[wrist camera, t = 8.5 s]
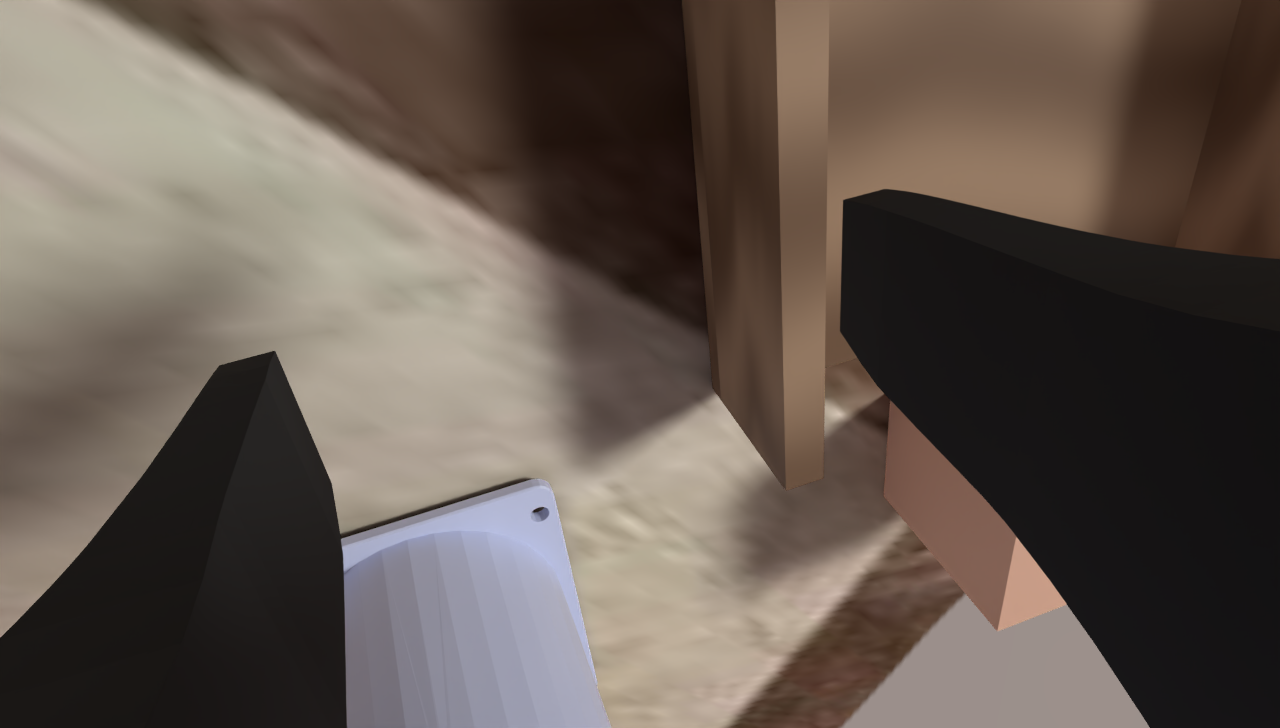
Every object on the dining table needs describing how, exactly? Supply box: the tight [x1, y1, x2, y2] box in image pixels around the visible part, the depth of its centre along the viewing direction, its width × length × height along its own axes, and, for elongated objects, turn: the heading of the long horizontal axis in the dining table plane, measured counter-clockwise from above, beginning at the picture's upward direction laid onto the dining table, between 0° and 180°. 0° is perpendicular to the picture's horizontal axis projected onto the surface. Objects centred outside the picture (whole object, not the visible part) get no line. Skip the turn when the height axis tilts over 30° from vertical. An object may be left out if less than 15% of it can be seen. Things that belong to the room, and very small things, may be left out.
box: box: [682, 0, 1280, 491], centre depth 21 cm, size 14×16×4 cm
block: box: [884, 400, 1067, 631], centre depth 27 cm, size 4×4×6 cm
